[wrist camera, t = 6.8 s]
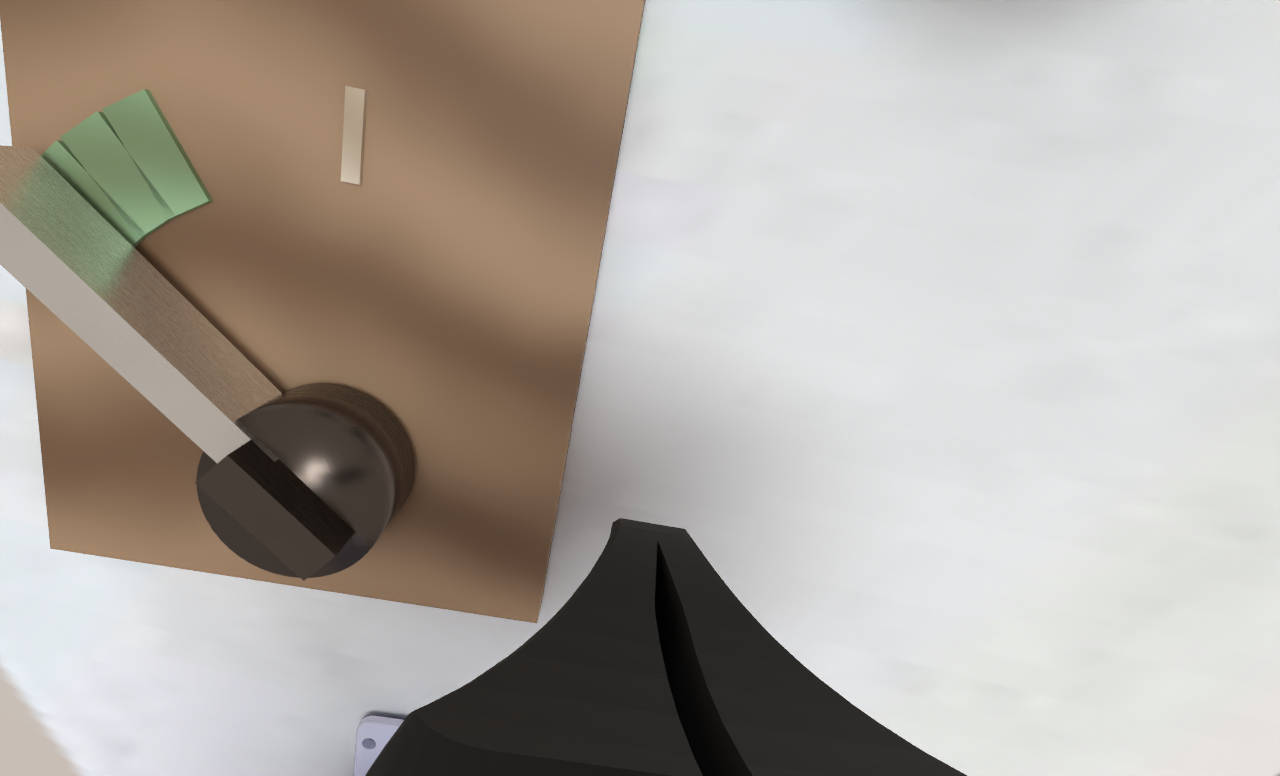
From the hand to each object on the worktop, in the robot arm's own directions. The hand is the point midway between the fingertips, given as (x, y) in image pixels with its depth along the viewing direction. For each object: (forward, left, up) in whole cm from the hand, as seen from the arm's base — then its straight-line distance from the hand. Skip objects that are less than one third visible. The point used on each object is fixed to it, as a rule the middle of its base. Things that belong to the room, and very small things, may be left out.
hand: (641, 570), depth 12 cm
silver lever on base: (0, +12, -8) cm, 15 cm away
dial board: (+2, +10, -9) cm, 14 cm away
